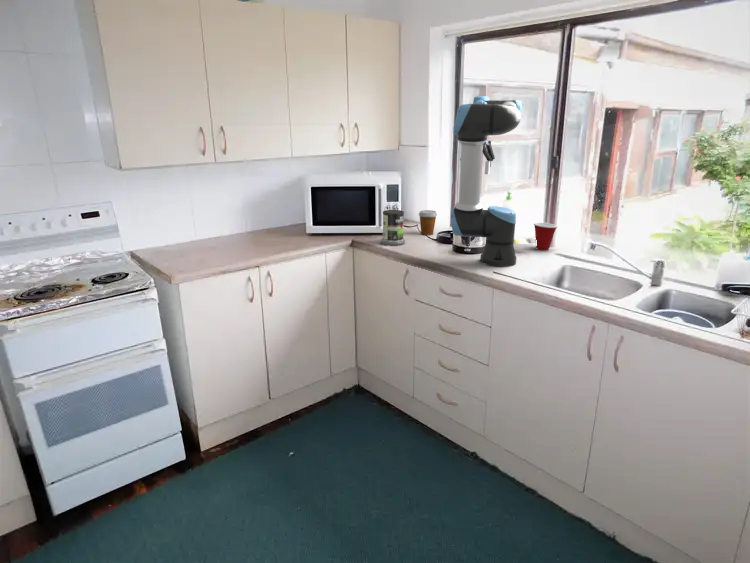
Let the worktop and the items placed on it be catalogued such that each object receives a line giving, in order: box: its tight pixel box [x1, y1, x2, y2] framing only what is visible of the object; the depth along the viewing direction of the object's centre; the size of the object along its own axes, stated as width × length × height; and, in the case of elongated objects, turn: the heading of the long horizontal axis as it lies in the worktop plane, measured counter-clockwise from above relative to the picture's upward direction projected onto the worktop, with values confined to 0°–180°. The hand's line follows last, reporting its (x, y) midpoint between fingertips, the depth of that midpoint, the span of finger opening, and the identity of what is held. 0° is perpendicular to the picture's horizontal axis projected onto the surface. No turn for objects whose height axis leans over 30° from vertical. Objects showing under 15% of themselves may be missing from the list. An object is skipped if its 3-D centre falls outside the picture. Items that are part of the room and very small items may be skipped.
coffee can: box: [382, 209, 405, 242], centre depth 246 cm, size 10×10×14 cm
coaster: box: [380, 237, 406, 247], centre depth 248 cm, size 12×12×2 cm
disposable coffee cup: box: [418, 209, 438, 236], centre depth 264 cm, size 10×10×12 cm
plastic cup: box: [533, 222, 558, 251], centre depth 236 cm, size 11×11×12 cm
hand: (476, 175), depth 249 cm, fingers open, 13 cm apart
